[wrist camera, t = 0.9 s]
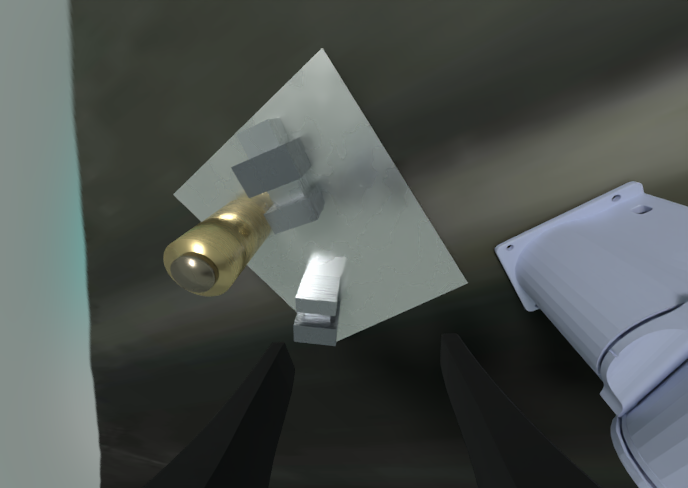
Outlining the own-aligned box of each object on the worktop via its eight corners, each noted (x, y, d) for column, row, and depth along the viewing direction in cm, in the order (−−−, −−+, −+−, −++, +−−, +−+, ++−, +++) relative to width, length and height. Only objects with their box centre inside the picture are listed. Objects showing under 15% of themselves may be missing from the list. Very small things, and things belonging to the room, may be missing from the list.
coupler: (244, 189, 18) (183, 230, 12) (280, 229, 20) (242, 284, 14) (211, 217, 20) (141, 267, 14) (247, 252, 21) (199, 312, 15)
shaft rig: (323, 49, 14) (310, 32, 11) (466, 280, 21) (484, 312, 18) (176, 193, 20) (138, 210, 16) (330, 341, 27) (325, 374, 23)
